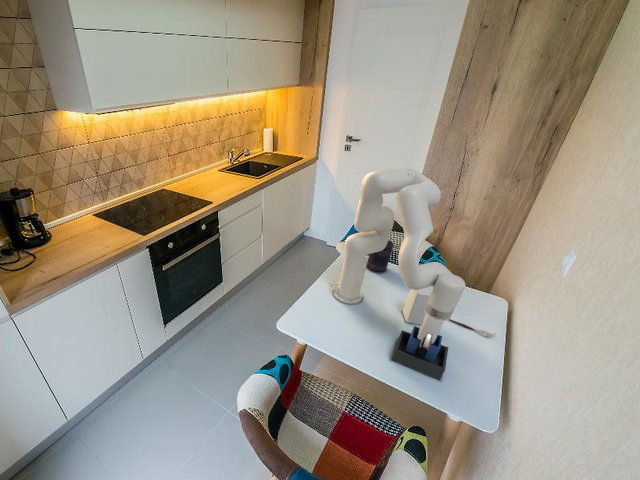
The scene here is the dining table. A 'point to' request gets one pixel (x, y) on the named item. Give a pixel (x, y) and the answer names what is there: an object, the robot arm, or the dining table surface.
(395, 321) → the dining table surface
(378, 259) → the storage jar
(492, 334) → the fork
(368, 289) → the dining table surface
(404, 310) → the milk carton
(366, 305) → the dining table surface
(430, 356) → the nested bin
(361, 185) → the robot arm
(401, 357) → the base bin
